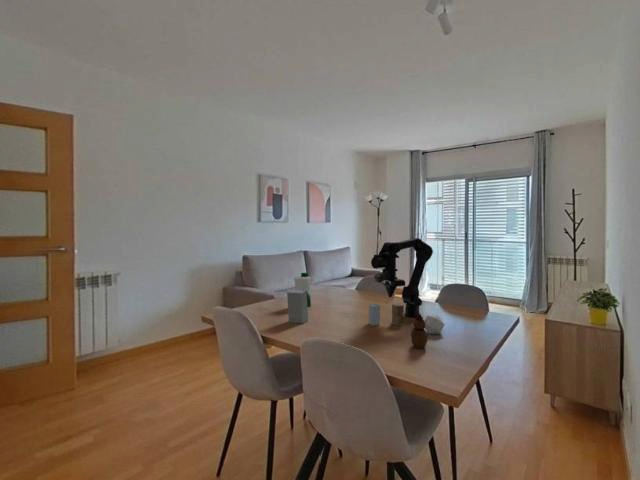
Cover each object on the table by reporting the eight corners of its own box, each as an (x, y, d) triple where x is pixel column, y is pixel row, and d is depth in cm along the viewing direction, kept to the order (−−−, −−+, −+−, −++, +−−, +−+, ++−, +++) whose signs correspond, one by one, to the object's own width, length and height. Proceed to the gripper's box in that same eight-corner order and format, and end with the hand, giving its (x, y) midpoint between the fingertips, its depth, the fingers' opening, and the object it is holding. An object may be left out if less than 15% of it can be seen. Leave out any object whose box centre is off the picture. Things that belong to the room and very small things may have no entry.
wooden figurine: (409, 344, 141) (409, 308, 140) (422, 343, 141) (423, 307, 141) (415, 350, 134) (415, 312, 134) (429, 349, 135) (429, 312, 134)
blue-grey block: (375, 322, 172) (375, 303, 171) (379, 324, 168) (379, 305, 168) (368, 323, 170) (368, 304, 170) (372, 325, 167) (372, 306, 166)
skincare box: (308, 320, 175) (308, 290, 175) (301, 324, 169) (301, 292, 168) (293, 319, 179) (293, 289, 178) (287, 322, 172) (286, 291, 172)
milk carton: (312, 306, 206) (312, 273, 205) (303, 309, 199) (303, 275, 198) (301, 304, 211) (301, 272, 210) (292, 307, 204) (291, 273, 203)
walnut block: (398, 322, 172) (399, 303, 172) (403, 324, 168) (403, 305, 168) (392, 323, 171) (392, 304, 170) (396, 325, 167) (396, 306, 166)
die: (440, 339, 149) (450, 319, 152) (423, 328, 150) (432, 309, 153) (434, 339, 157) (443, 321, 159) (417, 329, 158) (426, 311, 161)
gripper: (367, 265, 181) (367, 294, 181) (386, 270, 163) (386, 302, 164) (385, 264, 185) (385, 293, 185) (406, 268, 167) (405, 300, 168)
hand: (390, 297), depth 176 cm, fingers closed
